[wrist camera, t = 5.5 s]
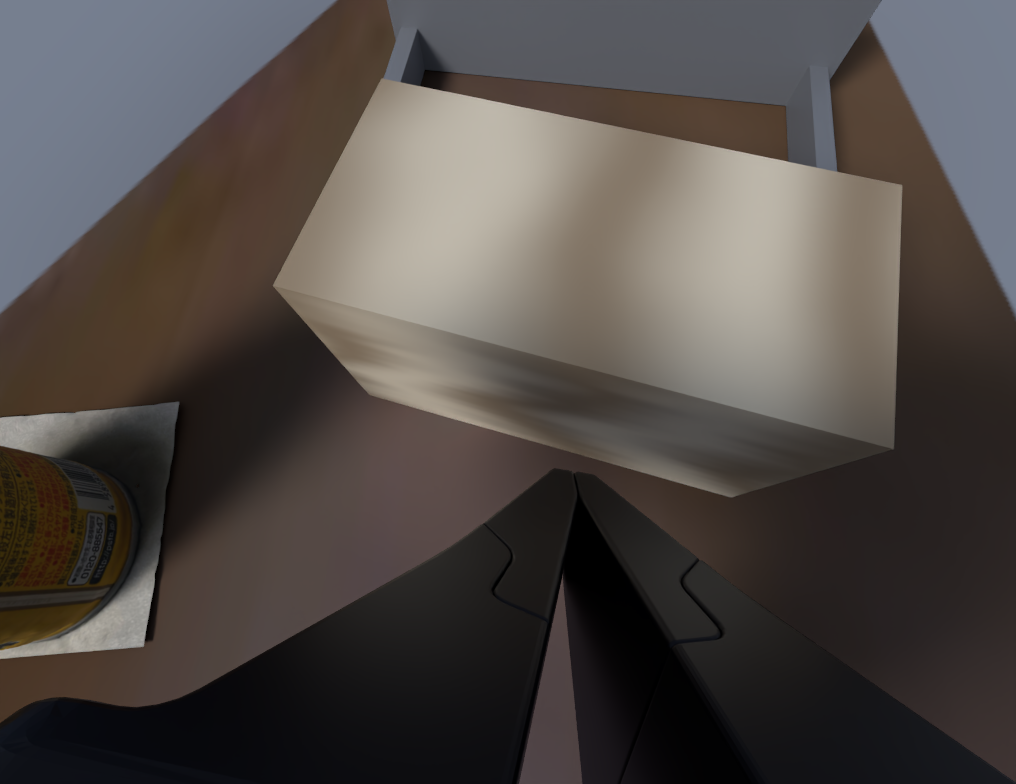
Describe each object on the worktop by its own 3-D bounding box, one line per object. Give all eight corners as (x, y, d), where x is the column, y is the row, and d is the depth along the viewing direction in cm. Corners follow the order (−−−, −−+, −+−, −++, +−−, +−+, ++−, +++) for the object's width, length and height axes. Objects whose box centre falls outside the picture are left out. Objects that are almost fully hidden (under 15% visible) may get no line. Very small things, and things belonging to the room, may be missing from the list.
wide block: (370, 396, 19) (272, 285, 11) (429, 251, 21) (381, 78, 13) (729, 498, 17) (893, 449, 10) (752, 330, 20) (902, 185, 12)
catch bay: (823, 285, 20) (945, 176, 14) (350, 227, 21) (290, 106, 16) (810, 96, 23) (903, -52, 18) (405, 56, 25) (373, -93, 19)
